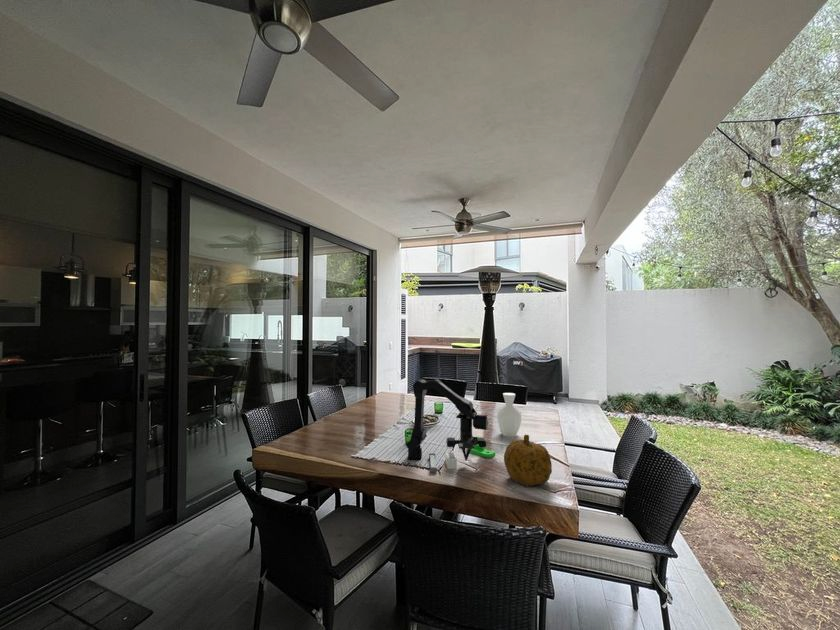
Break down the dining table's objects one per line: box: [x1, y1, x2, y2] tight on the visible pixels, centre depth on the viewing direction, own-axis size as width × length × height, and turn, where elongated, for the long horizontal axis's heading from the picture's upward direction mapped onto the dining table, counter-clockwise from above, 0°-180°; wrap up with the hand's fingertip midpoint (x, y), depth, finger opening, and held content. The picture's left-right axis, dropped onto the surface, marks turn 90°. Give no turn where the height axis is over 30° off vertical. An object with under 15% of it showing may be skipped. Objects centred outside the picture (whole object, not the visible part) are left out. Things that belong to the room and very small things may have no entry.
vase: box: [496, 392, 522, 437], centre depth 218 cm, size 14×14×25 cm
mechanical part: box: [469, 436, 496, 458], centre depth 185 cm, size 12×6×8 cm, turn 47°
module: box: [445, 452, 458, 470], centre depth 170 cm, size 5×8×5 cm, turn 1°
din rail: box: [428, 452, 438, 475], centre depth 169 cm, size 3×18×3 cm, turn 0°
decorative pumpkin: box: [503, 434, 553, 487], centre depth 154 cm, size 20×21×20 cm
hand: (466, 460), depth 170 cm, fingers closed
